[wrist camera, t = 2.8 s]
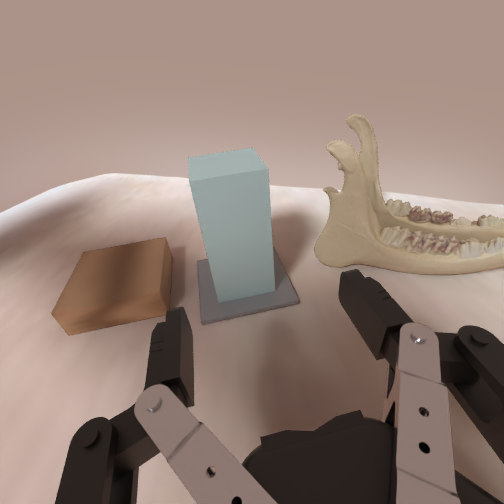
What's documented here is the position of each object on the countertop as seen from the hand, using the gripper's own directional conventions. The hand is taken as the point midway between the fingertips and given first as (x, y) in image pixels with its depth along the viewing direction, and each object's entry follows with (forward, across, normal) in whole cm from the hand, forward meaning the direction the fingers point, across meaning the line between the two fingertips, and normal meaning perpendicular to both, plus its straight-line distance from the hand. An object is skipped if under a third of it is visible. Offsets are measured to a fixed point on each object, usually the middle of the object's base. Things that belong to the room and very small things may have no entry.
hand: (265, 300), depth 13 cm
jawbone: (+9, -20, +9) cm, 24 cm away
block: (+12, 0, +8) cm, 14 cm away
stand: (+14, +12, +9) cm, 20 cm away
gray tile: (+12, 0, +9) cm, 15 cm away
